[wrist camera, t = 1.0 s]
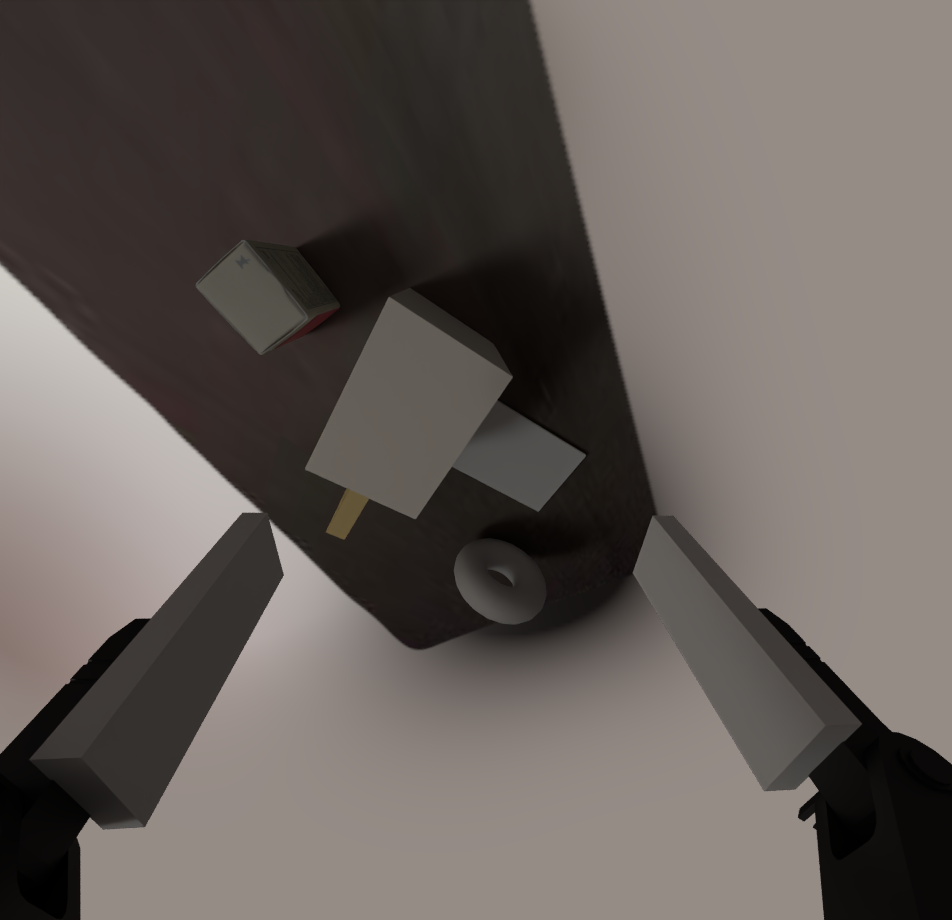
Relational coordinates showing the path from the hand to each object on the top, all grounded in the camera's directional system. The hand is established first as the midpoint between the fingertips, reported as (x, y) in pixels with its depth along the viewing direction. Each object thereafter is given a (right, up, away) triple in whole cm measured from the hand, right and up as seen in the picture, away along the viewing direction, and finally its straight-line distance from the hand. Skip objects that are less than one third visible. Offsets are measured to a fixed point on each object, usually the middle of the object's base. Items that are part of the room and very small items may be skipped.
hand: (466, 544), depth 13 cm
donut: (+3, -7, +29) cm, 30 cm away
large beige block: (-5, +10, +19) cm, 22 cm away
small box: (-13, +16, +16) cm, 26 cm away
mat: (+4, +3, +23) cm, 24 cm away
